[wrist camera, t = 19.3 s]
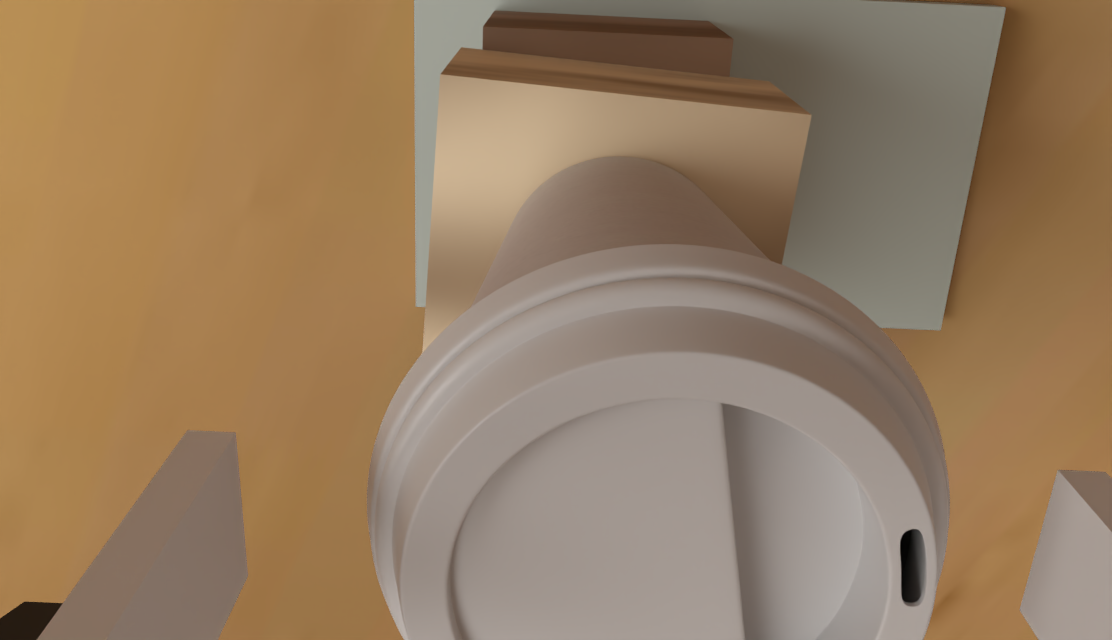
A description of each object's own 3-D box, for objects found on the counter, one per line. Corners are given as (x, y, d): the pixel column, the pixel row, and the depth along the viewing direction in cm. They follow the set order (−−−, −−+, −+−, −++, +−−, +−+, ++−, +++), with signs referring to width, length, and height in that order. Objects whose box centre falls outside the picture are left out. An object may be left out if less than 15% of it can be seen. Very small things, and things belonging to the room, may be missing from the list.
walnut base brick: (494, 10, 38) (483, 26, 32) (708, 21, 38) (733, 38, 32) (487, 309, 42) (476, 369, 37) (678, 318, 42) (696, 379, 37)
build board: (418, -24, 38) (414, -22, 37) (993, 4, 39) (1006, 7, 38) (419, 296, 43) (415, 306, 42) (930, 319, 43) (940, 330, 42)
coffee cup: (726, 447, 31) (862, 883, 17) (419, 379, 30) (297, 777, 16) (832, 146, 27) (1110, 382, 14) (488, 60, 27) (407, 216, 13)
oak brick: (461, 47, 32) (440, 74, 27) (769, 81, 33) (811, 115, 27) (441, 333, 36) (418, 409, 30) (718, 361, 36) (746, 441, 31)
